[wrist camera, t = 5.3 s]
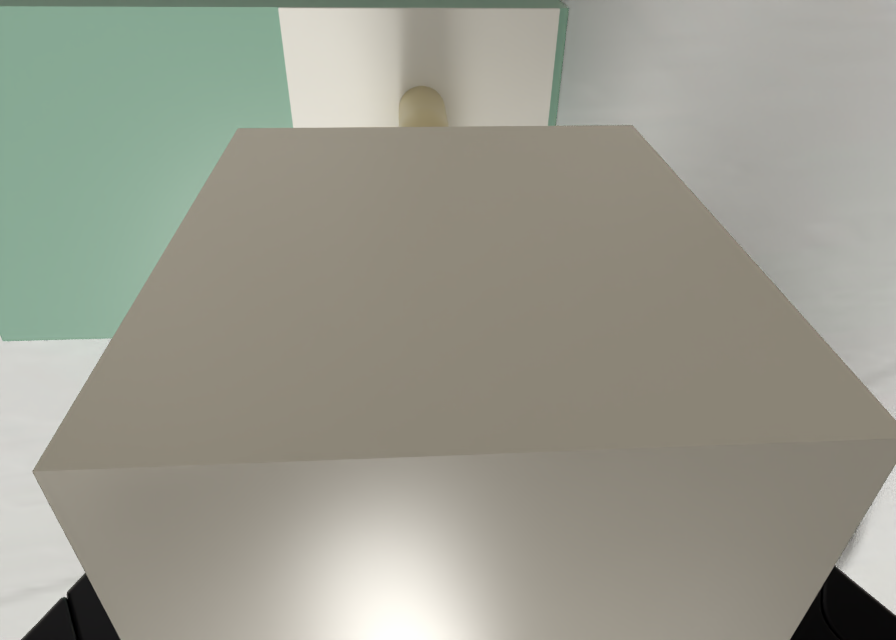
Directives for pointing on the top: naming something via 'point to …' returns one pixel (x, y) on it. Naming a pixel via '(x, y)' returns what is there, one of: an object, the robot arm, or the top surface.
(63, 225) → the header board
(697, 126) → the top surface
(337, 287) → the block
